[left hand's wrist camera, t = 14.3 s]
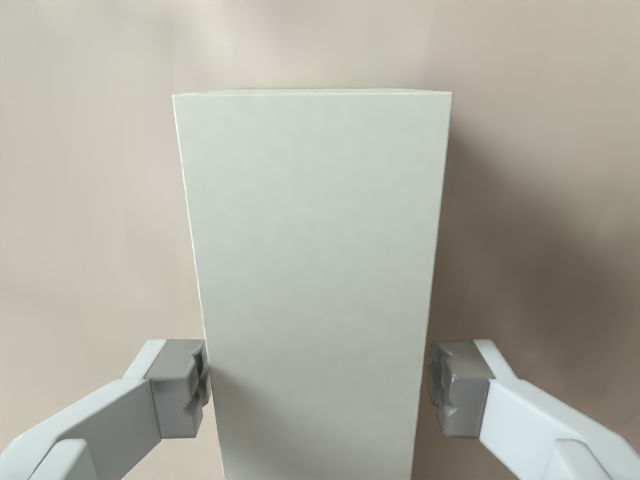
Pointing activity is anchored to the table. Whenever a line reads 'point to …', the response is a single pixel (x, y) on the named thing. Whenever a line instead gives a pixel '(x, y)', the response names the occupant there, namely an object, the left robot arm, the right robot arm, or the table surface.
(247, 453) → the beam
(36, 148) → the table surface
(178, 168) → the table surface
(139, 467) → the table surface
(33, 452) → the left robot arm
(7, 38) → the table surface
